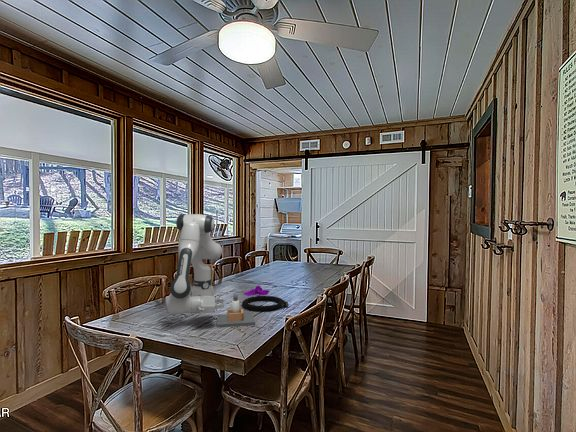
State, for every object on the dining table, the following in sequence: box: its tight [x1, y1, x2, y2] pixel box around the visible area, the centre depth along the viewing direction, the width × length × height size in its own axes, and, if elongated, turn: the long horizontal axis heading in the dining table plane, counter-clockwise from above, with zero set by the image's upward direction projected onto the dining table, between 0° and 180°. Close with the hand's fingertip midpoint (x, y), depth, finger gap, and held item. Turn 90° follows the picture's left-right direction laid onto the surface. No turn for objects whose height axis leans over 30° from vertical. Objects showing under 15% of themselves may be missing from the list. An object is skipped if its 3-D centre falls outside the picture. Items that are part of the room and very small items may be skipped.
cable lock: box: [241, 295, 289, 313], centre depth 211 cm, size 28×4×30 cm
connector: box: [231, 294, 240, 313], centre depth 181 cm, size 4×4×13 cm
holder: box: [216, 308, 256, 328], centre depth 181 cm, size 20×16×6 cm
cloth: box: [242, 285, 270, 297], centre depth 242 cm, size 22×19×6 cm
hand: (223, 303), depth 179 cm, fingers open, 8 cm apart
